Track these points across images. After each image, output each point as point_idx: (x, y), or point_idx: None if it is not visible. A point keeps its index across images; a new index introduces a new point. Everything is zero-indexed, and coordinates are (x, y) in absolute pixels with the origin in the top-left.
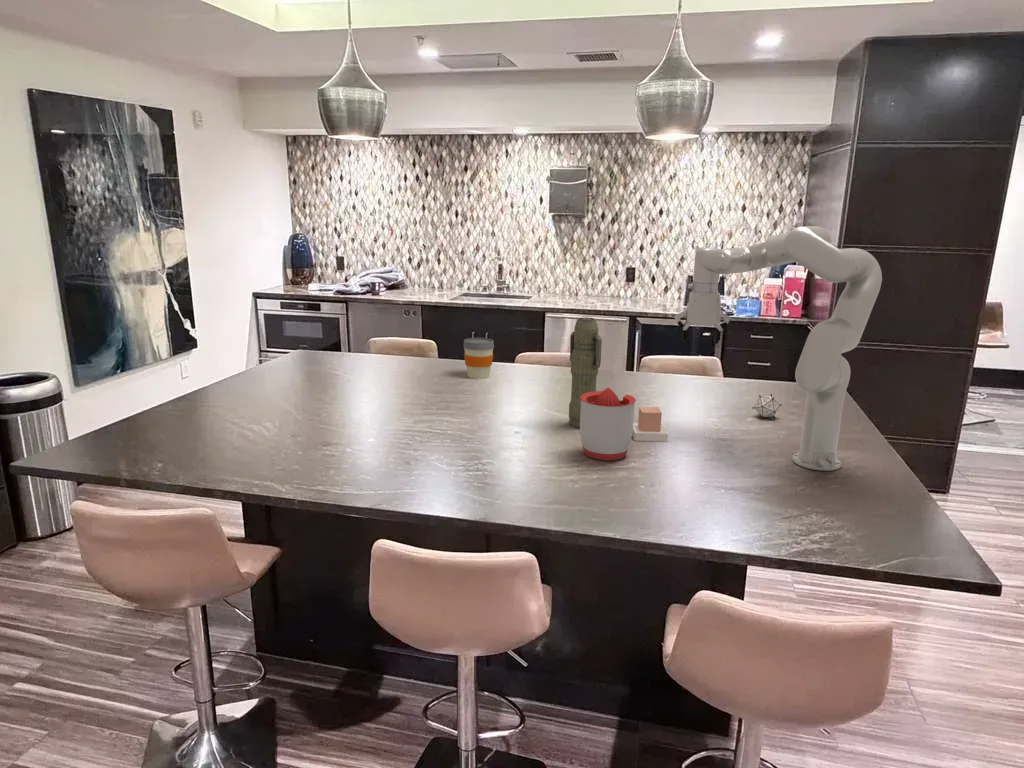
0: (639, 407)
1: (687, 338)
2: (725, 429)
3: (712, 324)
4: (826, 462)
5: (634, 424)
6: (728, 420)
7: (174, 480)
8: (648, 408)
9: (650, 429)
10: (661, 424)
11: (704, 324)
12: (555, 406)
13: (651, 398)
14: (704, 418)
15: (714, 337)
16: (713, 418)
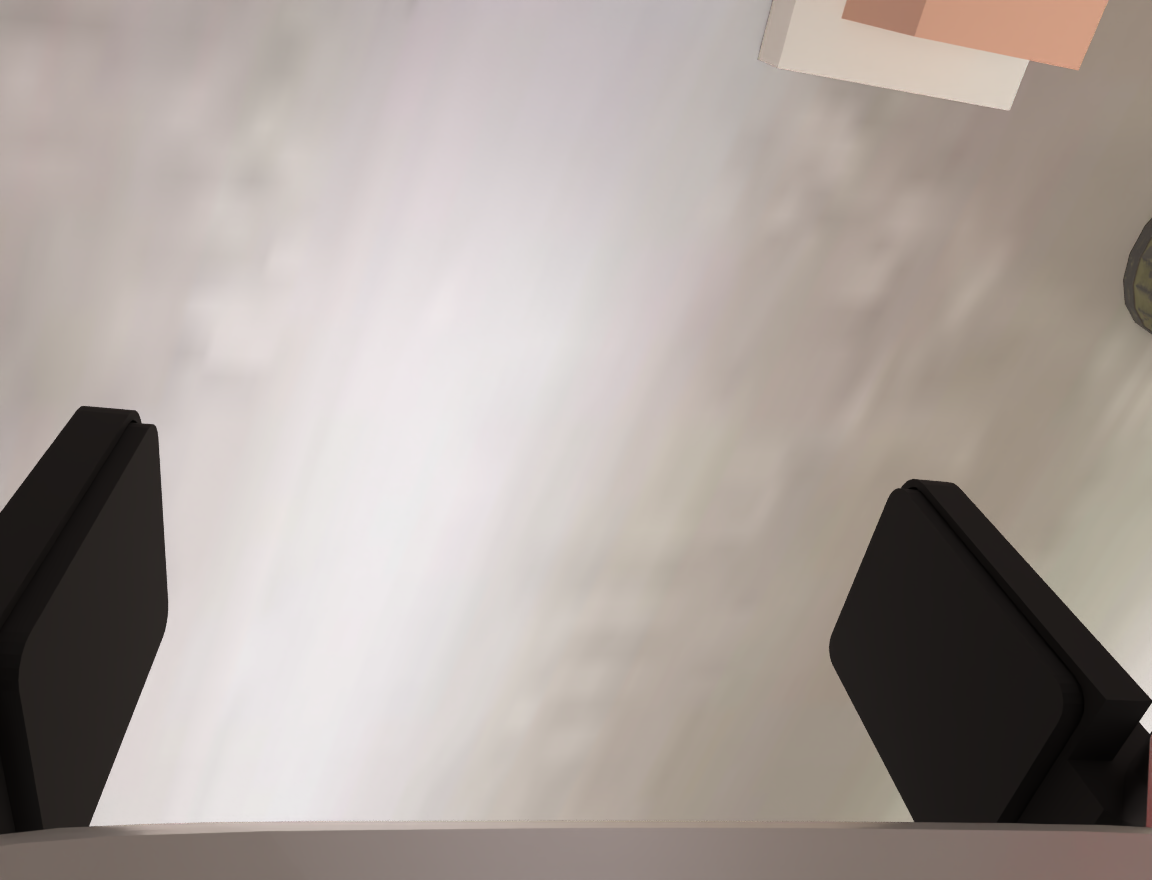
0: (1086, 50)
1: (954, 542)
2: (198, 63)
3: (212, 847)
4: None
5: (999, 69)
6: (112, 300)
7: None
8: (1026, 5)
9: None
10: (789, 48)
11: (713, 832)
12: (1141, 595)
13: (526, 737)
14: (300, 355)
15: (129, 655)
16: (226, 353)
